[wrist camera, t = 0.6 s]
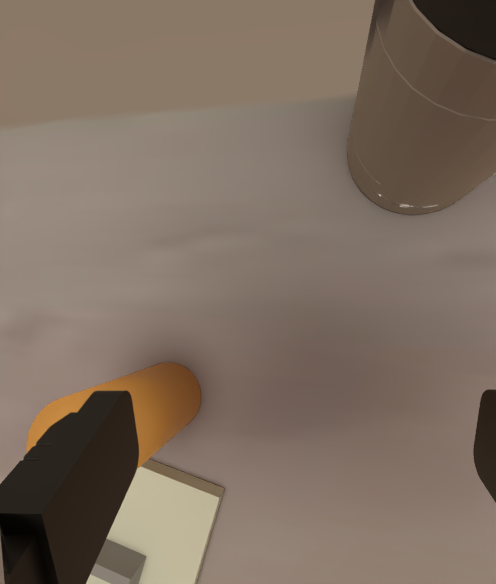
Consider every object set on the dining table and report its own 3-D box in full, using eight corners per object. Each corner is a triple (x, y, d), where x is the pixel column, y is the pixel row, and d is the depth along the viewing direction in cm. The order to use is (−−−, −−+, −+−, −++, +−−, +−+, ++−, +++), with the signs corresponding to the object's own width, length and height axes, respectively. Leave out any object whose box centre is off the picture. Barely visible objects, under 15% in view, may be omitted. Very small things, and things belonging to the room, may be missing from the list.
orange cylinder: (148, 353, 31) (43, 381, 19) (209, 374, 30) (139, 417, 18) (130, 416, 31) (14, 483, 19) (190, 439, 30) (107, 523, 18)
